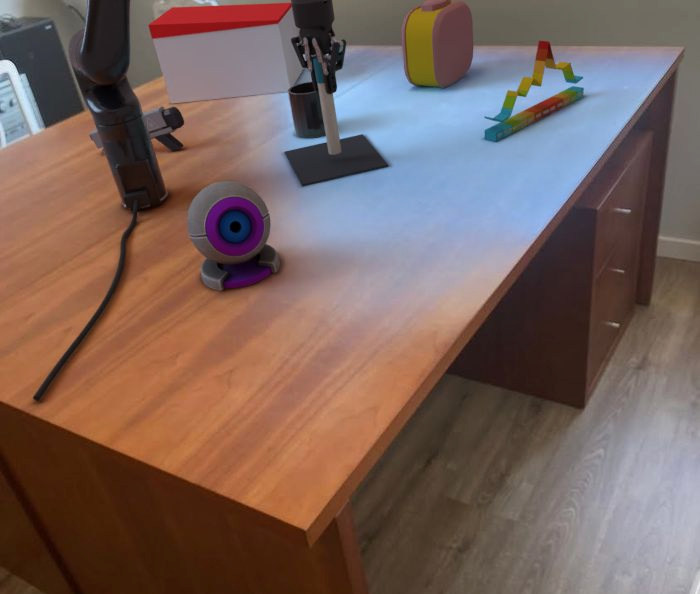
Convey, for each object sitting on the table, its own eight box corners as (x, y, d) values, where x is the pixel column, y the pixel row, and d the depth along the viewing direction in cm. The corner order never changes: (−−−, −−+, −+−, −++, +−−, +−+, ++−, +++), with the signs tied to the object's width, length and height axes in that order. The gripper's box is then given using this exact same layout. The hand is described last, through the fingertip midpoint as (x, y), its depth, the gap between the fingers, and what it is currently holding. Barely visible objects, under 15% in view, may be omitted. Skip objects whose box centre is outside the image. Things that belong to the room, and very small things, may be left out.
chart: (496, 141, 149) (495, 66, 140) (484, 138, 151) (482, 64, 142) (584, 96, 163) (588, 25, 154) (572, 94, 165) (575, 24, 156)
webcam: (213, 299, 113) (187, 211, 104) (194, 265, 123) (169, 183, 114) (290, 273, 116) (271, 186, 107) (265, 242, 126) (247, 160, 117)
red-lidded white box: (190, 81, 219) (171, 7, 207) (302, 69, 214) (290, -8, 201) (169, 104, 203) (147, 25, 191) (290, 91, 197) (275, 9, 185)
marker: (343, 152, 149) (329, 57, 138) (329, 156, 149) (314, 60, 138) (340, 148, 152) (326, 53, 140) (326, 151, 151) (311, 57, 140)
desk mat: (388, 166, 146) (388, 164, 146) (302, 186, 144) (301, 184, 144) (362, 135, 162) (362, 134, 162) (284, 153, 160) (284, 151, 160)
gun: (192, 145, 168) (172, 104, 163) (108, 172, 178) (86, 134, 173) (197, 141, 170) (177, 100, 165) (113, 168, 180) (92, 130, 175)
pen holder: (337, 132, 166) (331, 88, 160) (299, 141, 165) (291, 97, 159) (329, 121, 173) (322, 78, 167) (292, 129, 172) (284, 86, 166)
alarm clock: (440, 69, 195) (435, -10, 184) (476, 71, 189) (474, -10, 178) (403, 91, 184) (396, 9, 172) (441, 94, 178) (436, 9, 166)
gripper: (271, 0, 135) (288, 93, 145) (321, 3, 126) (336, 102, 136) (301, -10, 139) (315, 82, 149) (352, -7, 130) (364, 90, 140)
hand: (325, 91), depth 143 cm, fingers closed on marker, 3 cm apart
